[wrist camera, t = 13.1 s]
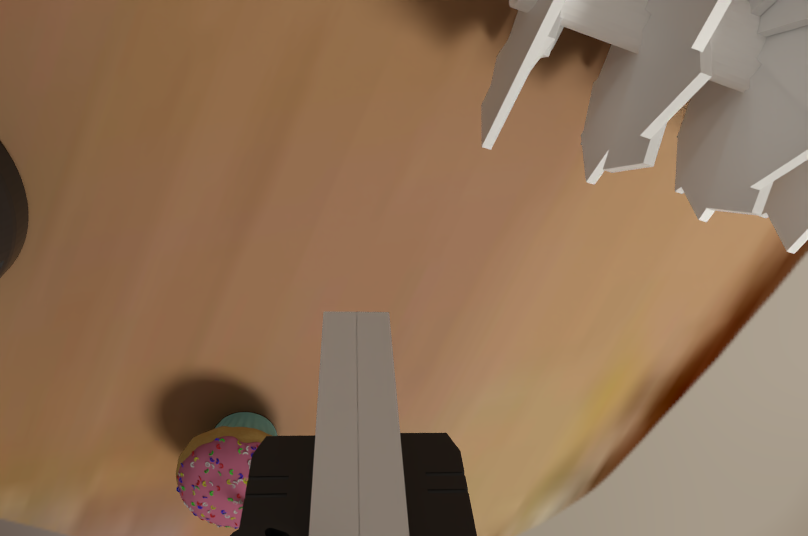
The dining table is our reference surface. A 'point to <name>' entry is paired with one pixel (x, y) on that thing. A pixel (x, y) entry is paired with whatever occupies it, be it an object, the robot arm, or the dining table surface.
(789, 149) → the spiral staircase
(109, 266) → the dining table surface
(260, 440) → the cupcake
